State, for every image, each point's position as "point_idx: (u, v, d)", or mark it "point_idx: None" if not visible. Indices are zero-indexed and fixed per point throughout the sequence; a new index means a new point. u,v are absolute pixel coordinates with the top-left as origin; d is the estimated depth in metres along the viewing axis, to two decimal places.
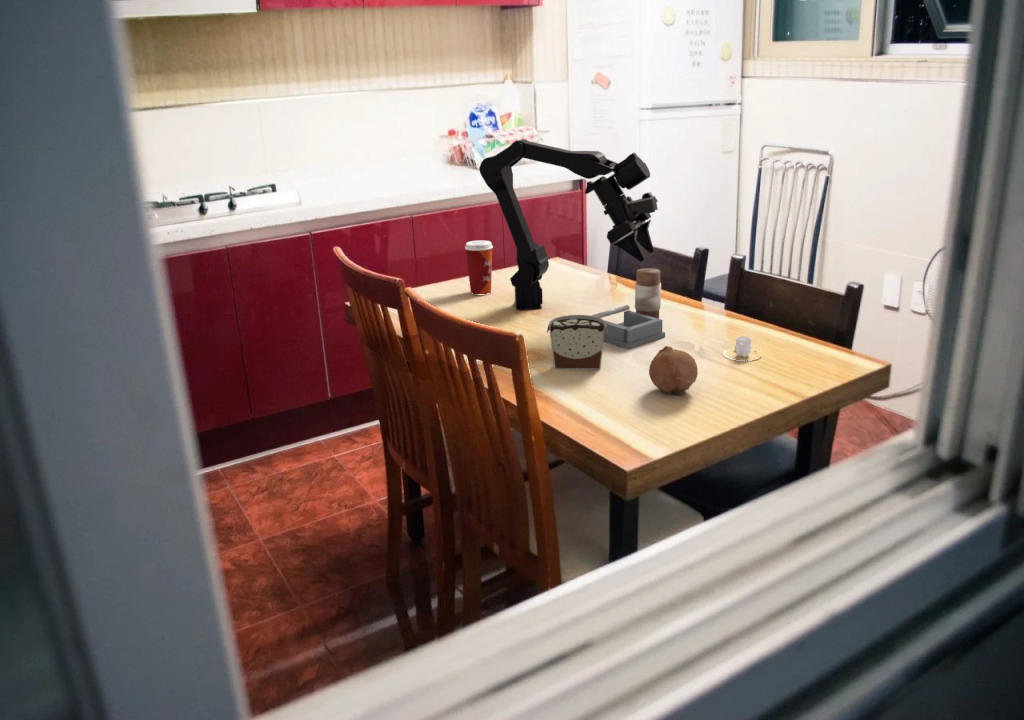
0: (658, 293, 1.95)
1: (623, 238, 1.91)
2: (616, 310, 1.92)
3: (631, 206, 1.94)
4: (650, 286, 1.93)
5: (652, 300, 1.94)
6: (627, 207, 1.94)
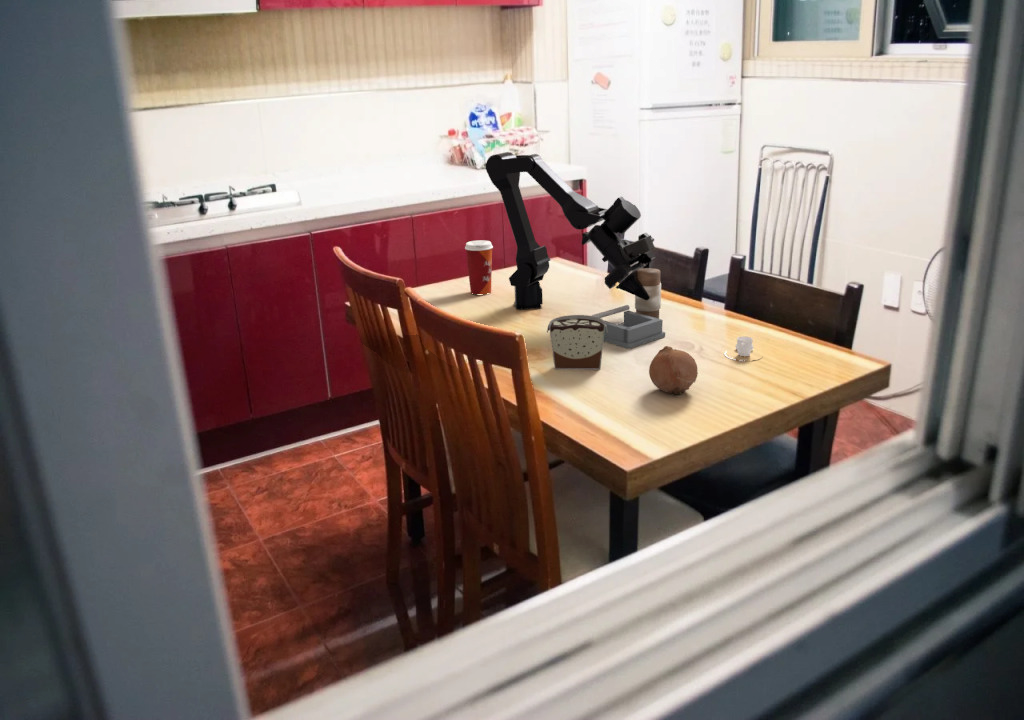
0: (658, 293, 1.95)
1: (623, 280, 1.92)
2: (616, 310, 1.92)
3: (626, 249, 1.94)
4: (650, 286, 1.93)
5: (652, 300, 1.94)
6: (622, 251, 1.94)
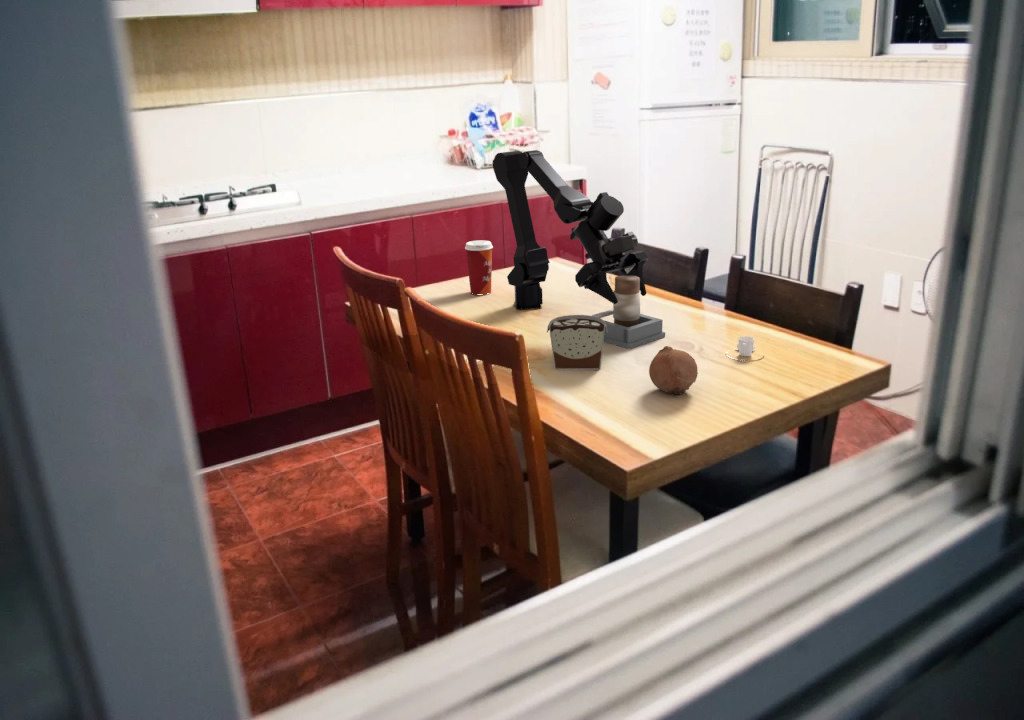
0: (634, 303, 1.84)
1: (589, 280, 1.83)
2: None
3: (604, 247, 1.85)
4: (624, 294, 1.84)
5: (626, 309, 1.85)
6: (600, 248, 1.85)
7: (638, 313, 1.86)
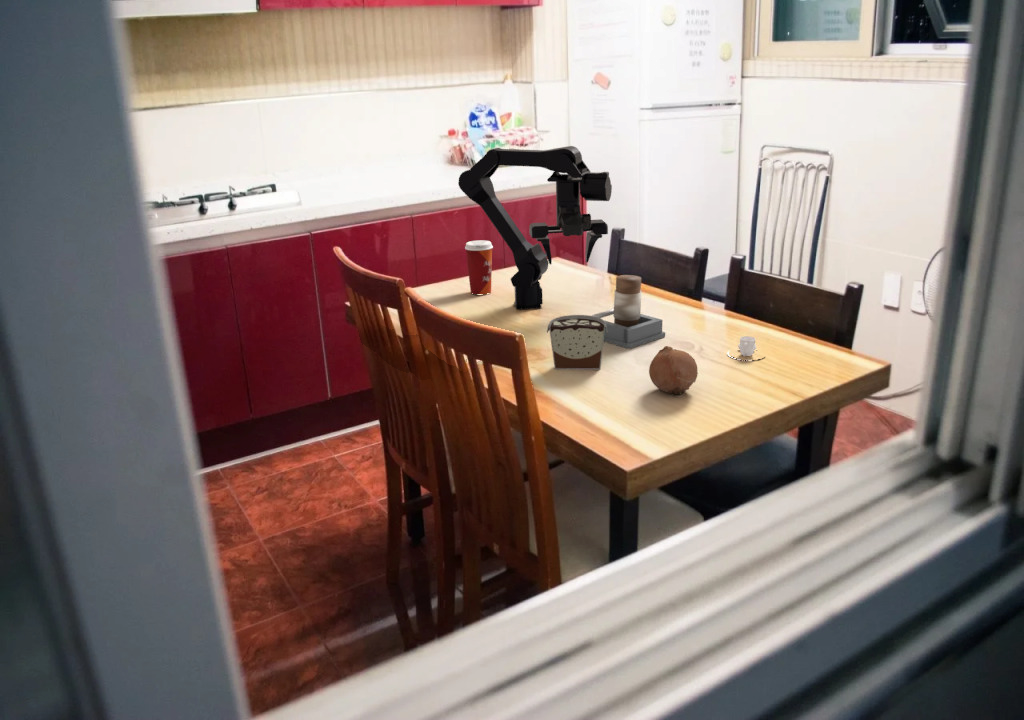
0: (635, 302, 1.84)
1: None
2: None
3: (560, 217, 2.00)
4: (626, 294, 1.84)
5: (627, 309, 1.85)
6: (559, 215, 2.00)
7: (639, 313, 1.86)
